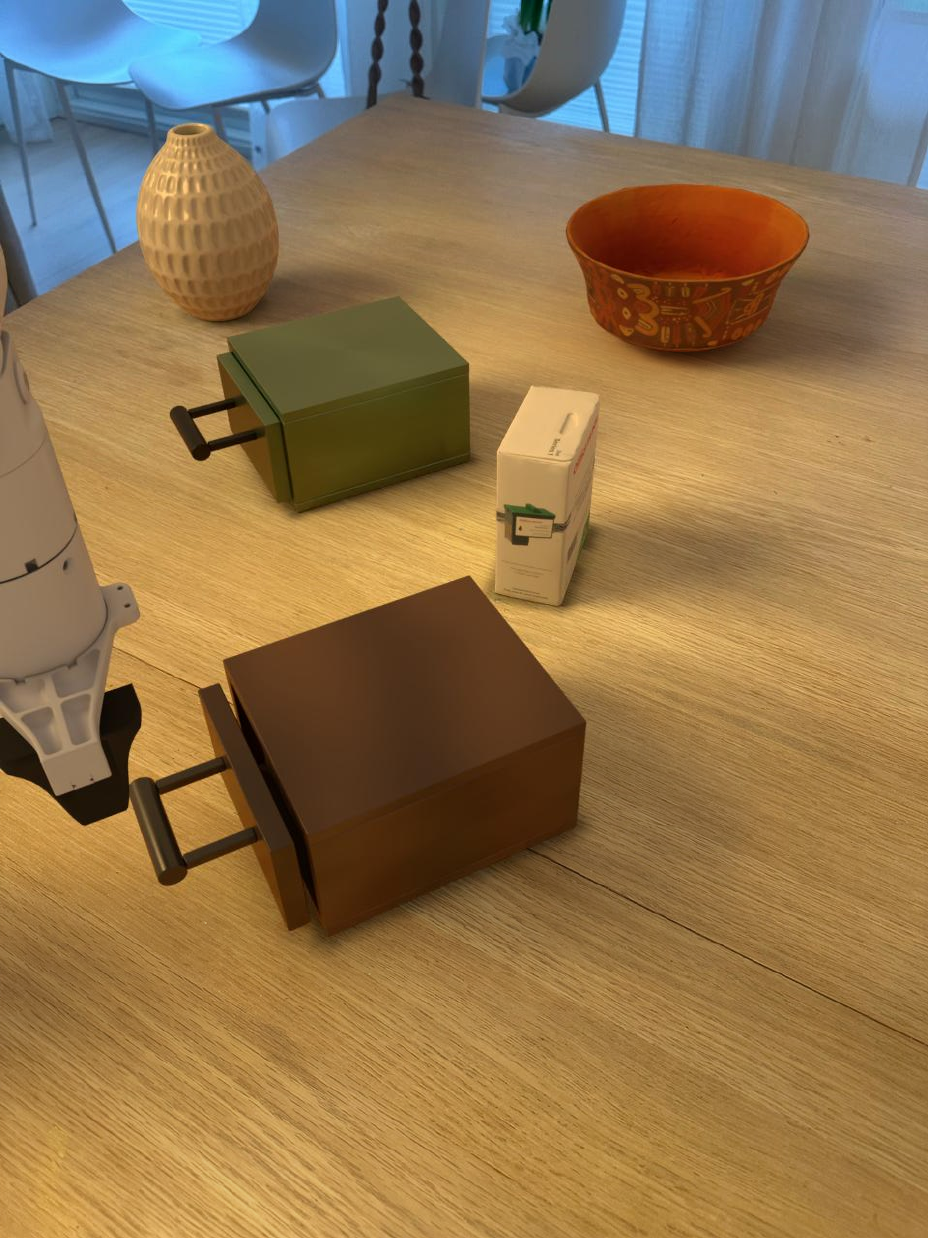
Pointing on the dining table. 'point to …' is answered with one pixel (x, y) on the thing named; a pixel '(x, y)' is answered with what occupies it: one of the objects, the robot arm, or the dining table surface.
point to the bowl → (684, 262)
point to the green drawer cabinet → (360, 398)
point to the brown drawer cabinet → (408, 747)
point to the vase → (207, 225)
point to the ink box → (544, 493)
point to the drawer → (241, 427)
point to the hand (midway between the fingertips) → (92, 775)
